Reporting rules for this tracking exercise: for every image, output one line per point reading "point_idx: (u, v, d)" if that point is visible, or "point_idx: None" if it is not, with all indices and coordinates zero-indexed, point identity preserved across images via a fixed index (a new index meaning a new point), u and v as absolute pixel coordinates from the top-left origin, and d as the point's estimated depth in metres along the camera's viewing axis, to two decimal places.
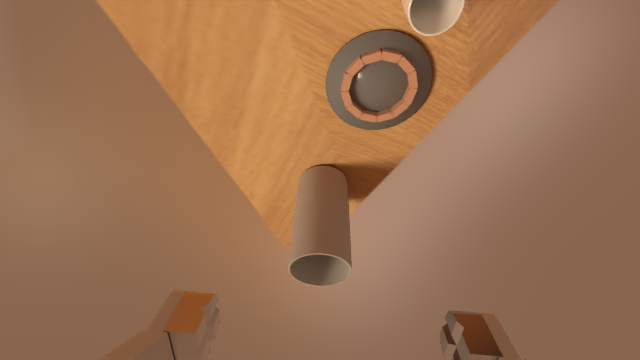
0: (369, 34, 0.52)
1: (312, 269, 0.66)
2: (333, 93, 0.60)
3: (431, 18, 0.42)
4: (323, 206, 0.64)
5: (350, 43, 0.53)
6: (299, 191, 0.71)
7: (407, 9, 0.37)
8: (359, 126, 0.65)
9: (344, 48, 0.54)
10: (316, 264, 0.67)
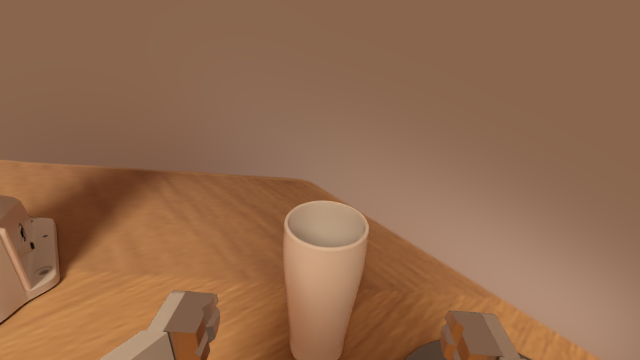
0: None
1: None
2: None
3: None
4: None
5: None
6: None
7: (315, 252, 0.21)
8: None
9: None
10: None
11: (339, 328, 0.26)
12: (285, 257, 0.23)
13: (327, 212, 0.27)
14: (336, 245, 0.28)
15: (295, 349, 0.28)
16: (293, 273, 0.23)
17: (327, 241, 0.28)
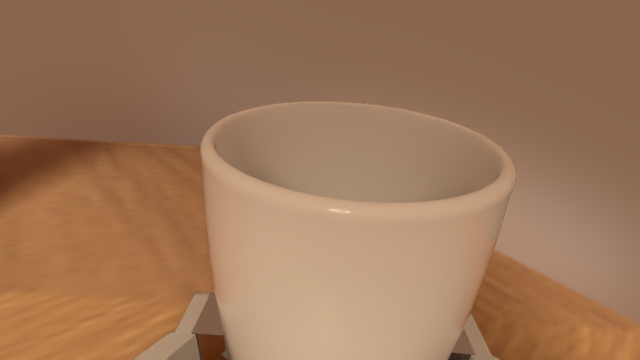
0: None
1: None
2: None
3: None
4: None
5: None
6: None
7: (313, 230, 0.04)
8: None
9: None
10: None
11: None
12: (209, 256, 0.07)
13: (346, 137, 0.10)
14: None
15: None
16: (233, 316, 0.06)
17: None
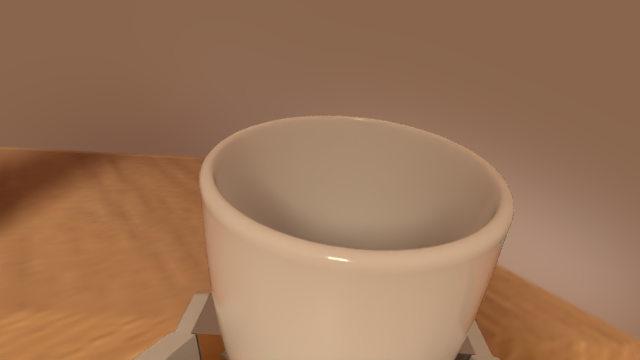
0: None
1: None
2: None
3: None
4: None
5: None
6: None
7: (311, 276, 0.04)
8: None
9: None
10: None
11: None
12: (210, 280, 0.07)
13: (346, 150, 0.10)
14: (366, 237, 0.12)
15: None
16: (234, 341, 0.06)
17: (345, 227, 0.12)
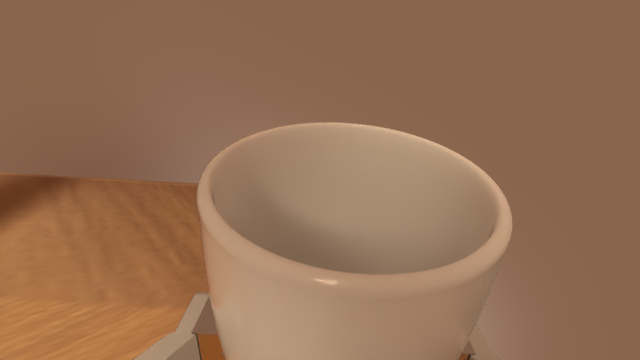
0: None
1: None
2: None
3: None
4: None
5: None
6: None
7: (308, 300, 0.04)
8: None
9: None
10: None
11: None
12: (209, 293, 0.07)
13: (345, 156, 0.10)
14: (366, 242, 0.12)
15: None
16: (233, 355, 0.06)
17: (344, 232, 0.12)
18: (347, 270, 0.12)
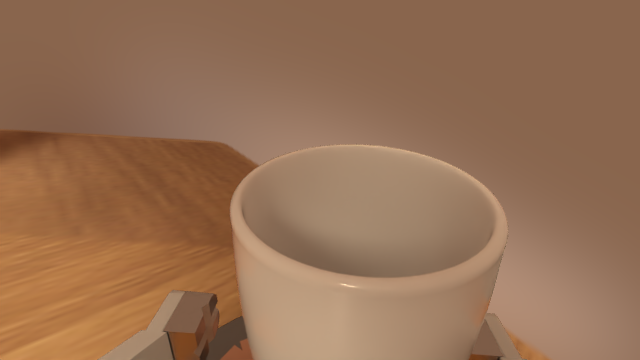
0: None
1: None
2: None
3: None
4: None
5: None
6: None
7: (338, 302, 0.05)
8: None
9: None
10: None
11: None
12: (241, 306, 0.08)
13: (353, 174, 0.11)
14: (376, 253, 0.12)
15: None
16: None
17: (356, 244, 0.12)
18: None
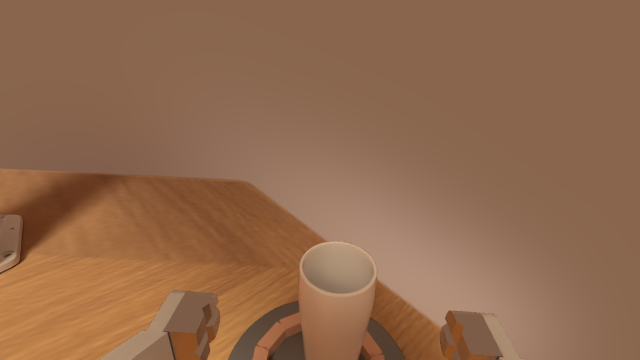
0: None
1: None
2: None
3: None
4: None
5: None
6: None
7: (330, 298, 0.23)
8: None
9: None
10: None
11: (352, 359, 0.28)
12: (301, 299, 0.26)
13: (337, 251, 0.29)
14: (346, 280, 0.30)
15: None
16: (309, 315, 0.25)
17: (337, 276, 0.31)
18: (339, 291, 0.31)
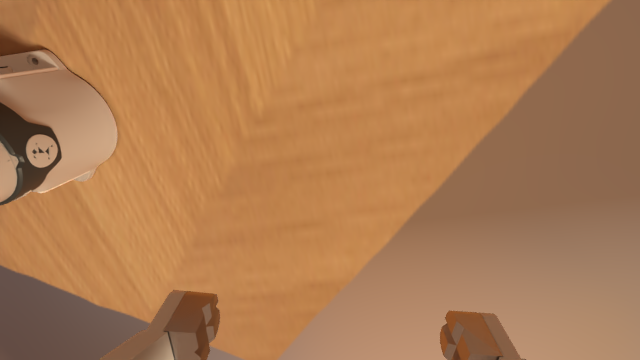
0: None
1: None
2: None
3: None
4: None
5: None
6: None
7: None
8: None
9: None
10: None
11: None
12: None
13: None
14: None
15: None
16: None
17: None
18: None
